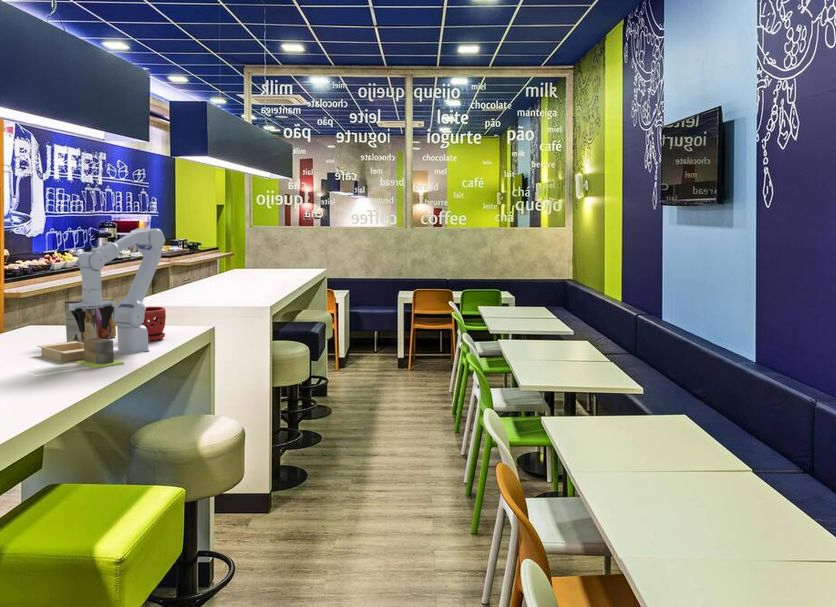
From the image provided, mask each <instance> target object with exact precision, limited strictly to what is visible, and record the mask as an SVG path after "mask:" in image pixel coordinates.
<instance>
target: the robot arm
mask: <svg viewBox="0 0 836 607" xmlns="http://www.w3.org/2000/svg"><path fill="white" fill-rule="evenodd" d="M165 243H166V238H165V235H164V233H163V231H162V229H160V228H142V227H141V228H140V227H138V228H135V229H133V230H130V232H129V233H128V234H126V235H124V236H123V237H120V239H118V240H116V241H114V242H111V241H103V242H101V244H102V245H99V246H98V247H93V248H91V250H90V251H84V252H82V253H80V255H79V256H78V259H77V260H76V264H77V266H78V268H79V269H80V271H79V272H80V274H81V285H82V286H81V287H82V288H81V290H82V291H81V292H82V299H83V302H82V303H75V304H69V310H71V313H72V314H73V316H74V318H75V320H76V322H77V324H78V327H79V331H80V332H85V314H86V312H85V311H83V310H82V309H92V308H100V313H101V319H102V329H105V330H106V329H107V328H108V323H109V320H110V317H111V315H112V320H113V321H114V323H115V325H116V328H117V329H116V333H117V349H113V353H114V352H116V353H119V354H124V355H125V354H133V353H144V352H150V349H149V341H148V331H147V328H146V327H145V326H144V325H141V324H142V323H143V322H144V315H145V310H146V307H147V306H145V304H144V303H143V302H144V300H145V298H146V294H147V292H148V290H149V287H150V285H151V283H152V280H153V279H154V275H155V273H156V271H157V269H158V266H159V264H160V261H161V259H162V258H161V257H162V252H163V248H164V245H165ZM132 246H135V248H137V250H138V251H139V253H140V254H141V255H142V260H141V261H140V265H139V267H138V269H137V272H136V274H135V276H134V279H133V281H132V283H131V286H130V288H129V290H128V293H127V296H126V297H124V298H122V299H121V300H120V301H119V302H118V304H117V305H116V300H114V301H102V298H103V294H102V293H103V292H102V269H103V268H104V267H105V265H106V264H107V263H109V262H111V261H113V260H114V259H116V258H118V257H119V255H120V252H122V251H124V250H126V249H128V248H131V247H132ZM88 306H95V307H88ZM112 307H114V308H115V309H114V308H112Z"/></svg>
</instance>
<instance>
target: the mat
mask: <svg viewBox="0 0 836 607" xmlns="http://www.w3.org/2000/svg"><path fill="white" fill-rule="evenodd" d="M73 361H74V363H76V364H79V365H83V366H87V367H88V368H90V369H93V370H94V369H100V367H101V368H106V367H112V366H118V365H119V364H120V365H123V364H125V362H124V361H122V360H119V359H118V360H117V359H114V362H113V363H107V364H101V365H100V364H96V363H91V362H86V361H84V359H82V360H81V359H80V360H73Z"/></svg>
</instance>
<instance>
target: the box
mask: <svg viewBox="0 0 836 607" xmlns="http://www.w3.org/2000/svg"><path fill="white" fill-rule="evenodd" d="M113 350H114V340H111V339H108V338H107V339H101V338H90V339H84V358H83V360H84V361H86V362H91V363H96V364H100V365H101V364H107V363H113V362H114V360H115V359H114V357H115V356H114V351H113Z"/></svg>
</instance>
